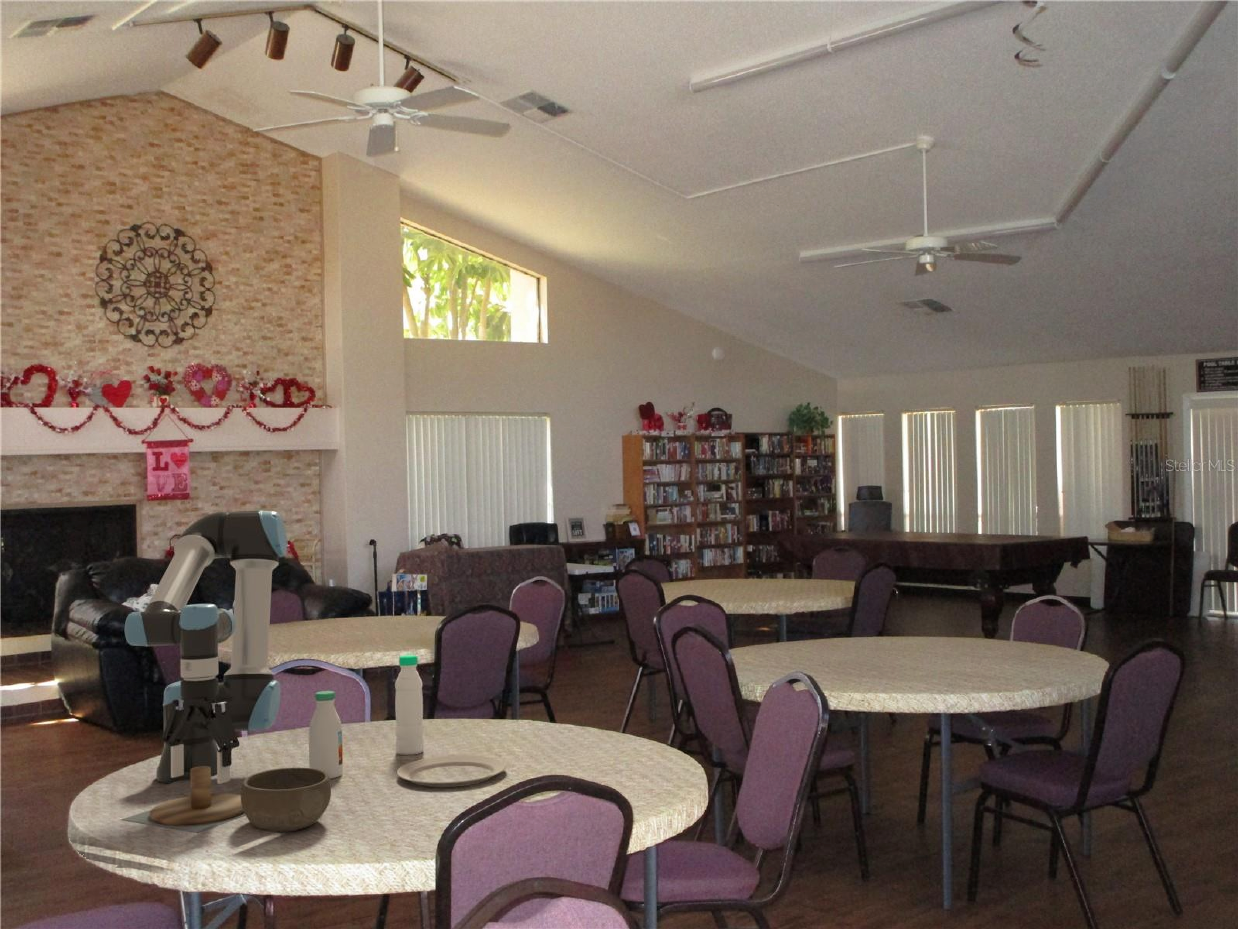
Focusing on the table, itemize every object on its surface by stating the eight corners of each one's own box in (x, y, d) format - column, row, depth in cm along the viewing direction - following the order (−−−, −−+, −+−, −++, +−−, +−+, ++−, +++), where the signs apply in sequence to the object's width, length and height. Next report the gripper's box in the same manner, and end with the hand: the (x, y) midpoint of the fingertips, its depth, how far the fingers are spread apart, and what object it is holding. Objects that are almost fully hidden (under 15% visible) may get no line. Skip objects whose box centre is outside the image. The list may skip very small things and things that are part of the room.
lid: (128, 819, 229) (127, 775, 229) (204, 794, 247) (203, 753, 247) (197, 830, 220) (197, 785, 220) (271, 804, 238) (270, 761, 238)
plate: (375, 779, 262) (375, 770, 262) (460, 758, 280) (459, 750, 280) (442, 797, 244) (442, 788, 244) (527, 774, 263) (527, 765, 263)
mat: (120, 824, 228) (120, 819, 228) (204, 797, 248) (204, 792, 248) (197, 837, 218) (197, 832, 218) (278, 808, 238) (278, 803, 238)
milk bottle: (333, 780, 260) (332, 695, 260) (303, 779, 261) (302, 695, 262) (348, 772, 267) (347, 689, 268) (318, 771, 269) (317, 689, 269)
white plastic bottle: (410, 757, 282) (409, 658, 282) (390, 754, 285) (388, 657, 286) (429, 751, 288) (427, 654, 288) (409, 748, 291) (407, 653, 292)
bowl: (317, 839, 216) (317, 787, 216) (227, 840, 216) (226, 789, 217) (341, 813, 233) (340, 765, 234) (257, 814, 234) (256, 767, 234)
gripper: (143, 677, 236) (144, 777, 235) (228, 683, 225) (229, 789, 224) (172, 672, 243) (172, 770, 242) (256, 678, 231) (257, 780, 231)
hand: (200, 779), depth 233 cm, fingers open, 13 cm apart
